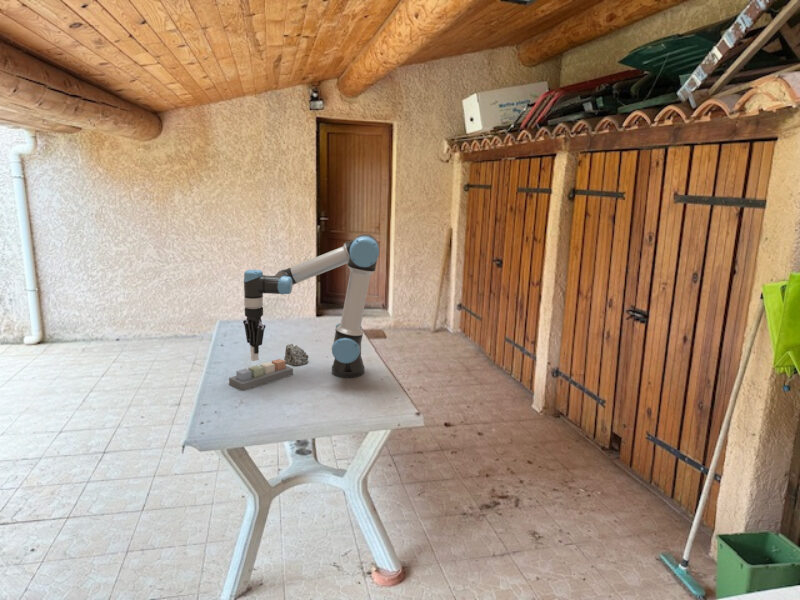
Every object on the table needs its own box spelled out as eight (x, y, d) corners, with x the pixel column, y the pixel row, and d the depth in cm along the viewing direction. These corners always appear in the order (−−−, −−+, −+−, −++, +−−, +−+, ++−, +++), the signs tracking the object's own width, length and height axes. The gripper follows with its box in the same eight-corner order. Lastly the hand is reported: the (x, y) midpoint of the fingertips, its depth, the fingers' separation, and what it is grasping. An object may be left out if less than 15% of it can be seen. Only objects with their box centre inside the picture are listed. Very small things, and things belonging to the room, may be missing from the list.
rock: (276, 364, 248) (278, 353, 240) (287, 351, 254) (289, 339, 247) (300, 377, 247) (303, 366, 239) (310, 363, 253) (313, 352, 246)
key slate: (251, 380, 217) (251, 371, 217) (242, 382, 214) (242, 373, 213) (245, 377, 220) (245, 368, 219) (236, 380, 217) (236, 371, 216)
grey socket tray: (293, 374, 231) (292, 368, 230) (242, 391, 212) (242, 384, 211) (279, 369, 237) (279, 363, 237) (229, 384, 218) (229, 377, 217)
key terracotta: (285, 369, 231) (285, 361, 230) (277, 371, 228) (277, 363, 227) (279, 367, 234) (279, 358, 233) (271, 369, 230) (271, 361, 230)
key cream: (274, 372, 227) (274, 364, 226) (266, 375, 223) (266, 366, 222) (268, 370, 229) (268, 361, 228) (260, 372, 226) (260, 364, 225)
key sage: (263, 376, 222) (263, 367, 221) (254, 379, 219) (254, 370, 218) (257, 373, 225) (257, 365, 224) (248, 376, 221) (248, 367, 221)
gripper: (270, 308, 214) (271, 361, 219) (252, 302, 222) (253, 354, 227) (255, 310, 208) (256, 365, 213) (237, 305, 216) (238, 358, 221)
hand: (254, 360), depth 220 cm, fingers closed
